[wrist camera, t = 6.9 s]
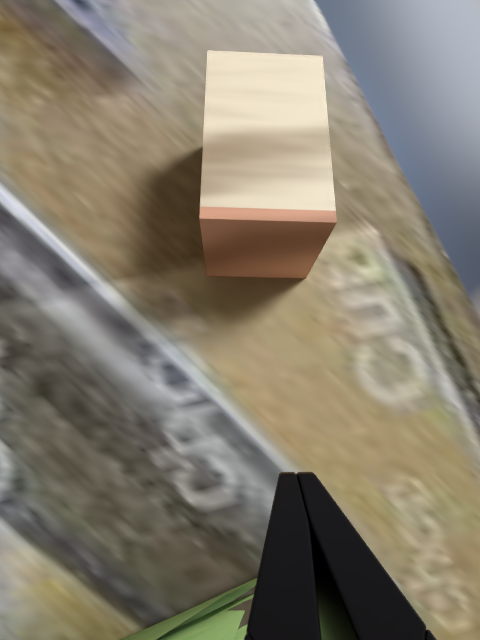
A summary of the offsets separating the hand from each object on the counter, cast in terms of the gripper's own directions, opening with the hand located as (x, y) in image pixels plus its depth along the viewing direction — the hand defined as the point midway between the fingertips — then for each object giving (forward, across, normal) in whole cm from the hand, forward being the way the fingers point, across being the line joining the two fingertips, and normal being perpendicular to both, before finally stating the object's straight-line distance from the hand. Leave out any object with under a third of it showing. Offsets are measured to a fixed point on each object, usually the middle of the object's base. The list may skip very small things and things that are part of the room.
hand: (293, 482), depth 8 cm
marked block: (+12, 0, -2) cm, 12 cm away
